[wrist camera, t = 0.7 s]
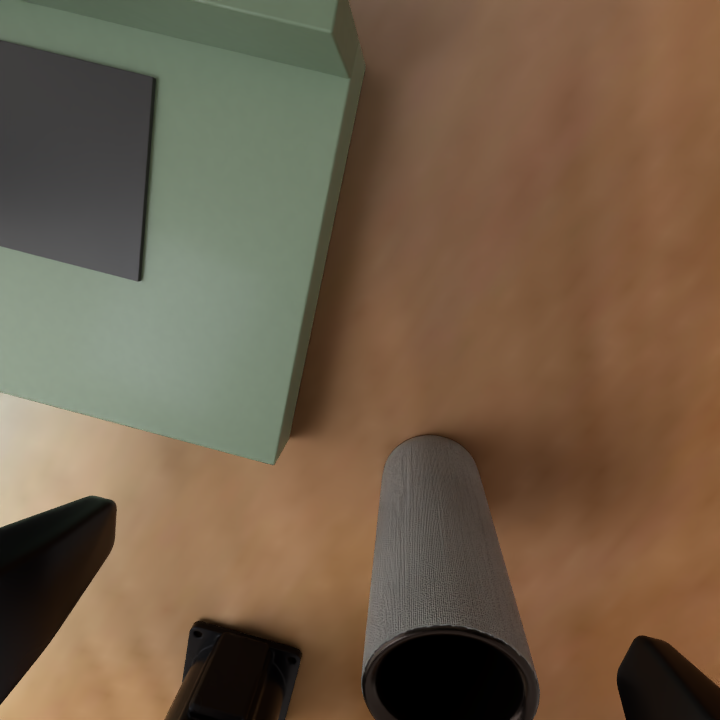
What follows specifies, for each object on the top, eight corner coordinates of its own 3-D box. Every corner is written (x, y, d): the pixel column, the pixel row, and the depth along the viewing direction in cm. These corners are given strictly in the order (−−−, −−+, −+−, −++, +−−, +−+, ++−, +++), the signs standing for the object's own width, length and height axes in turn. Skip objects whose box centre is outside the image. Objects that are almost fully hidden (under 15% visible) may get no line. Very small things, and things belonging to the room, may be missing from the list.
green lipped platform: (289, 439, 21) (244, 519, 15) (-23, 356, 22) (-180, 404, 16) (366, 65, 16) (343, -25, 10) (-40, -32, 17) (-279, -169, 11)
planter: (482, 512, 21) (546, 759, 11) (390, 520, 22) (376, 759, 12) (473, 428, 20) (535, 623, 10) (375, 439, 21) (345, 632, 11)
